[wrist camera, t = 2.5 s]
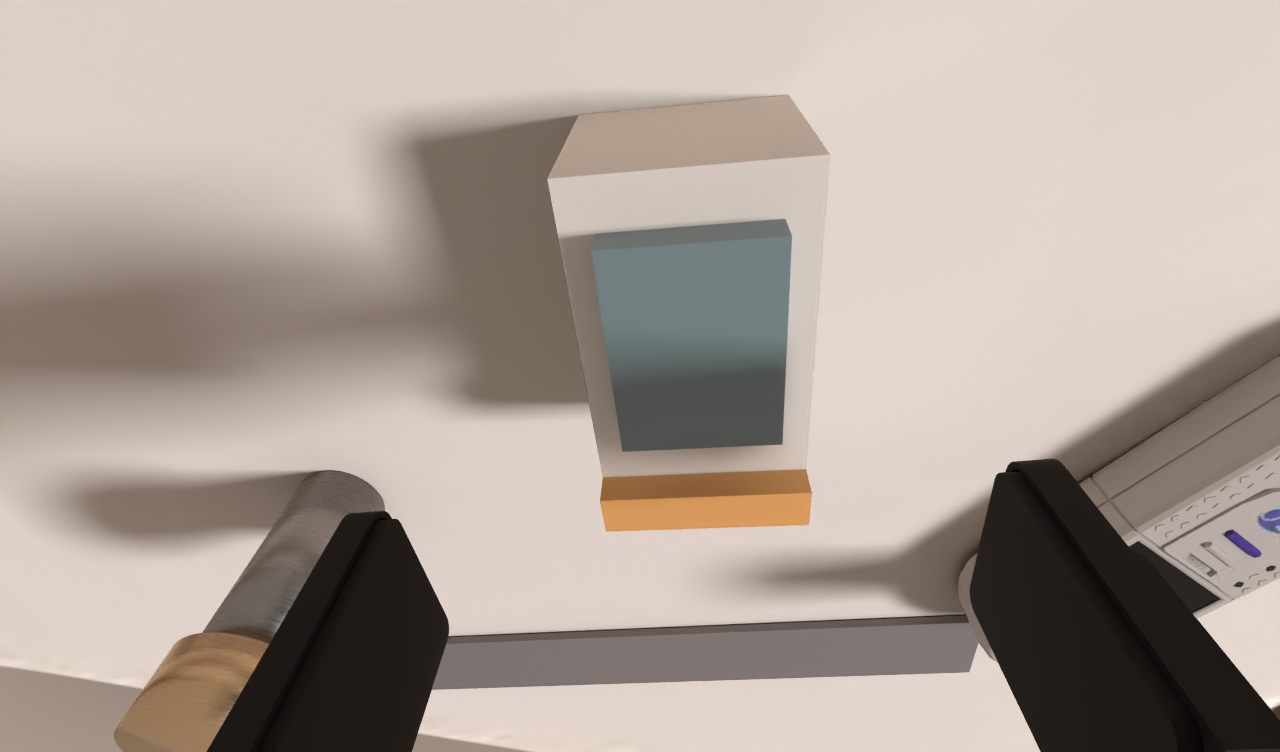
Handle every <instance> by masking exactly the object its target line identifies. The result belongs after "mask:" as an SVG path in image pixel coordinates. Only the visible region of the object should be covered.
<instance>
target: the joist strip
mask: <svg viewBox="0 0 1280 752" xmlns="http://www.w3.org/2000/svg"><path fill="white" fill-rule="evenodd" d="M977 645H978V640H977V638H976V636H975V633H974V631H973V629H972V627H971V625H970V623H969V621H968V618H967V616H966V615H963V616H939V617H916V618H892V619H869V620H845V621H821V622H798V623H774V624H751V625H727V626H703V627H680V628H656V629H633V630H609V631H585V632H562V633H538V634H515V635H491V636H467V637H448V640H447V644H446V647H445V650H444V653H443V656H442V659H441V662H440V665H439V668H438V672H437V675H436V678H435V681H434V684H433V687H432V690H436V689H467V688H498V687H529V686H559V685H590V684H621V683H652V682H683V681H713V680H744V679H775V678H806V677H836V676H867V675H898V674H929V673H960V672H969V671H970V668H971V665H972V661H973V658H974V655H975V652H976V649H977Z"/></svg>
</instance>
